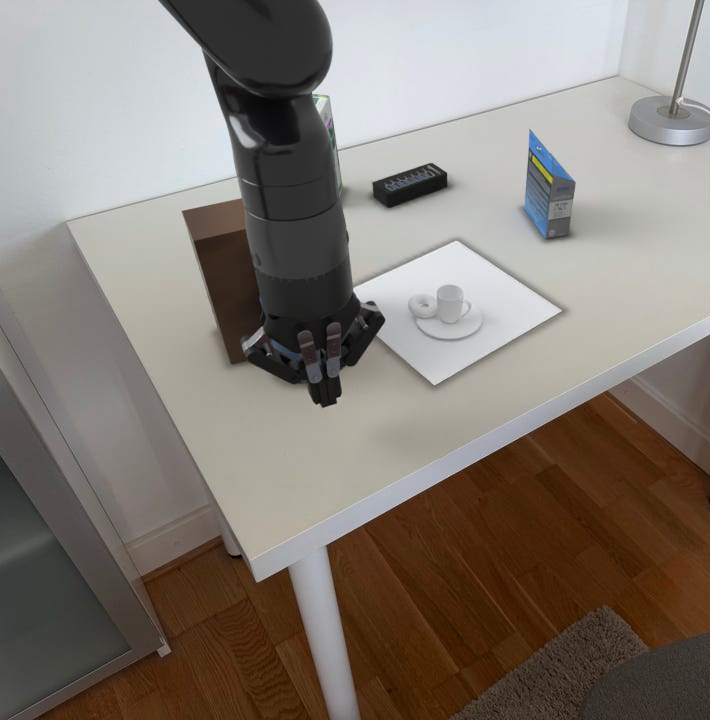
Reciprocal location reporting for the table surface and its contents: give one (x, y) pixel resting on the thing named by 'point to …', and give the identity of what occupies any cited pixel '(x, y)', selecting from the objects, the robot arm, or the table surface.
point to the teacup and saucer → (451, 310)
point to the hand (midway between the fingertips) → (326, 400)
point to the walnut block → (226, 271)
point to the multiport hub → (409, 185)
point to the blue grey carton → (548, 191)
